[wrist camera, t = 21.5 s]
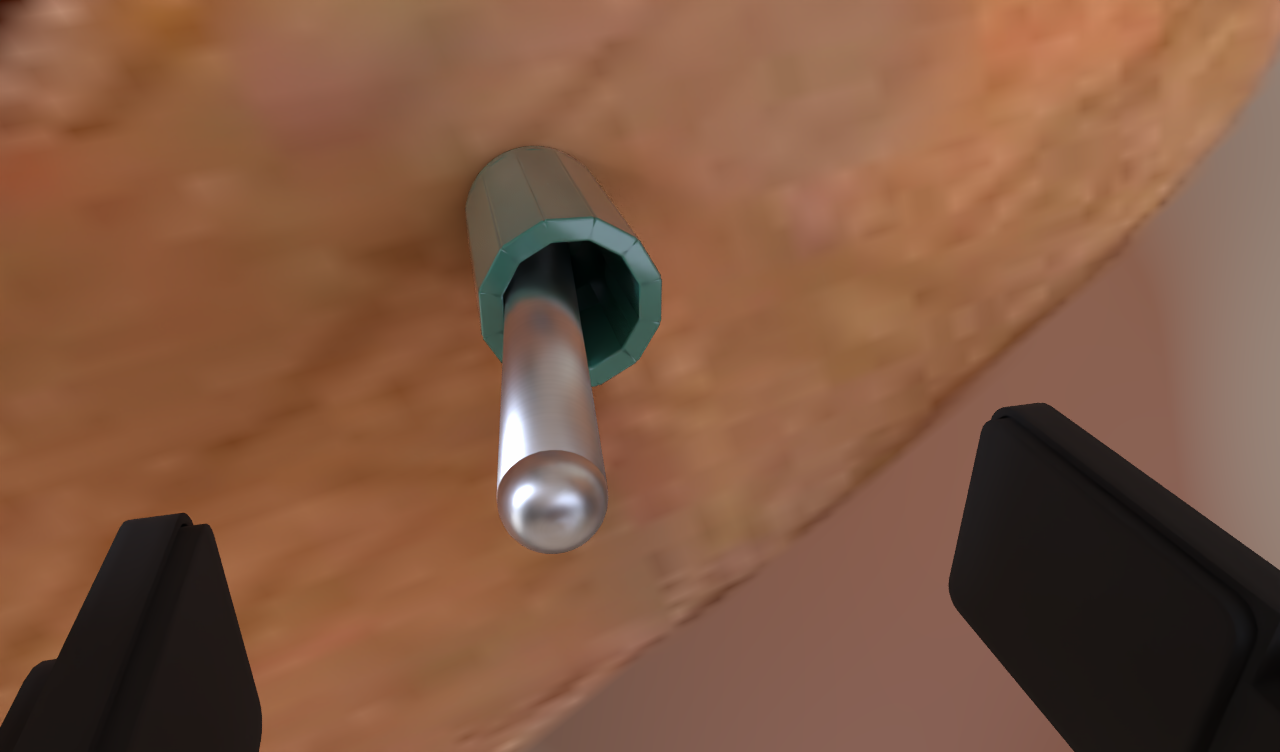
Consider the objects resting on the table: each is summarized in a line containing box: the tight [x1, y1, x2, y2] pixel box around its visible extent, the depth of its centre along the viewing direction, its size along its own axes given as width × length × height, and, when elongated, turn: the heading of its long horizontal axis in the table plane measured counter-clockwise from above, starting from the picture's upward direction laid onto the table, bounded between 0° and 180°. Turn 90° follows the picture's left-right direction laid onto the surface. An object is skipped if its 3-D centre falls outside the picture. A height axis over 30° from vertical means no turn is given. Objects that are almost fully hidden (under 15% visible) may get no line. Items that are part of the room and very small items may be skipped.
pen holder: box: [465, 146, 662, 387], centre depth 21 cm, size 4×4×7 cm
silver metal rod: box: [497, 242, 608, 554], centre depth 17 cm, size 2×2×14 cm
